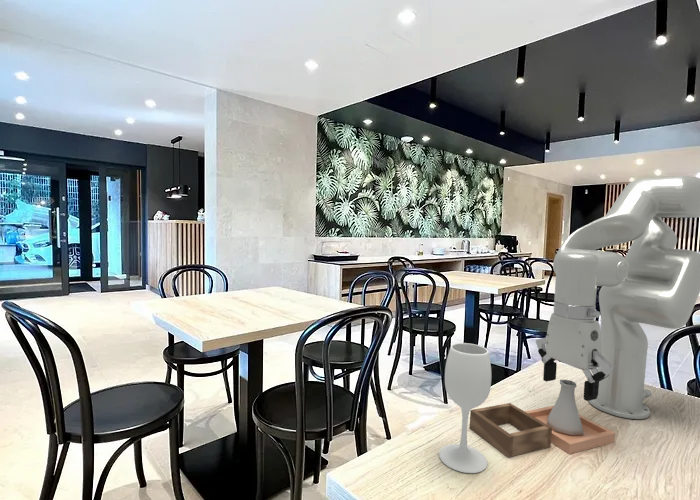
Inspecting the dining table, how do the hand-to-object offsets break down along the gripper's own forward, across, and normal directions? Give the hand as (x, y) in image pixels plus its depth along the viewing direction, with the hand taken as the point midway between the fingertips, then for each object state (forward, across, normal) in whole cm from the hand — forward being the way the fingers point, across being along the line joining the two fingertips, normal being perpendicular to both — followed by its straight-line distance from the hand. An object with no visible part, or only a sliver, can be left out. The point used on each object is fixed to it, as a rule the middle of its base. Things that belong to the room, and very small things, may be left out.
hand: (568, 389), depth 82 cm
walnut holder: (+9, +2, +14) cm, 17 cm away
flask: (+9, 0, +1) cm, 9 cm away
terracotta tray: (+9, 0, +1) cm, 9 cm away
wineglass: (+9, -1, +28) cm, 30 cm away
